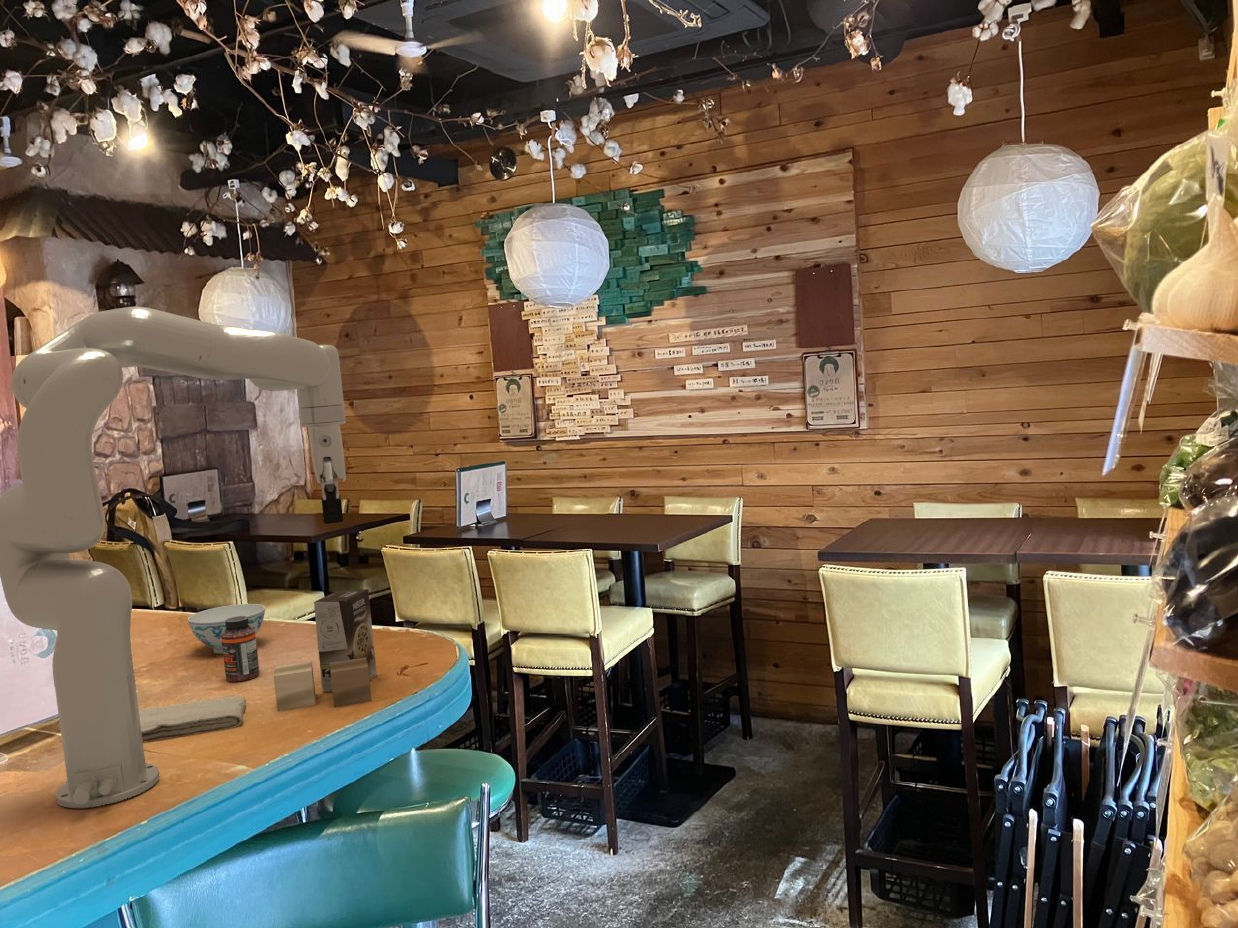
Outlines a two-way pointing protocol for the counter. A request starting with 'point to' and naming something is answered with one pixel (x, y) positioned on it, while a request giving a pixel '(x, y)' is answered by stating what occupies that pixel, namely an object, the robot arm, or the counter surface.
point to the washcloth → (191, 718)
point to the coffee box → (344, 631)
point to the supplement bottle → (239, 650)
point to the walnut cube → (350, 682)
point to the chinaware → (223, 622)
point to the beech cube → (294, 685)
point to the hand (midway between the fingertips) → (333, 519)
